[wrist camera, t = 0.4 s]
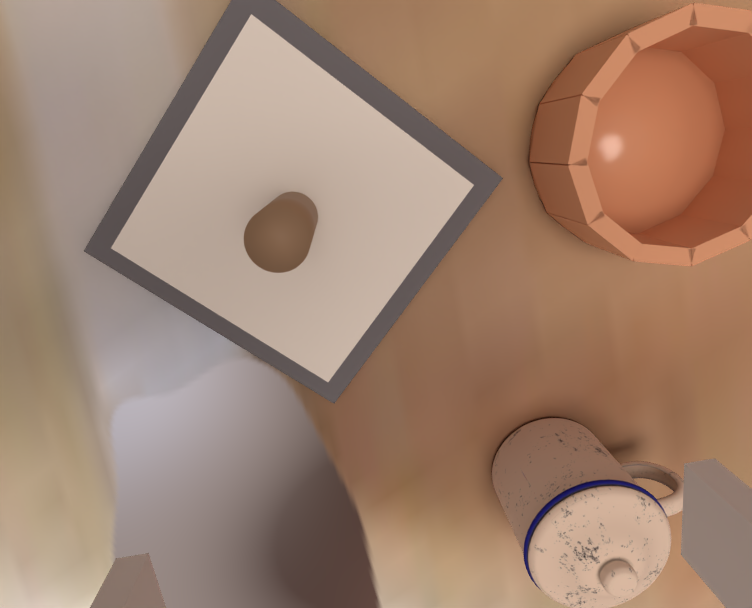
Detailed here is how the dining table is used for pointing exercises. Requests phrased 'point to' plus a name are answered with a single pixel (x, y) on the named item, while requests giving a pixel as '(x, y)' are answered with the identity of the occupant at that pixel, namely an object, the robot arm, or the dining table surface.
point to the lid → (290, 204)
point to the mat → (365, 86)
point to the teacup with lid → (583, 514)
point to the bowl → (653, 139)
